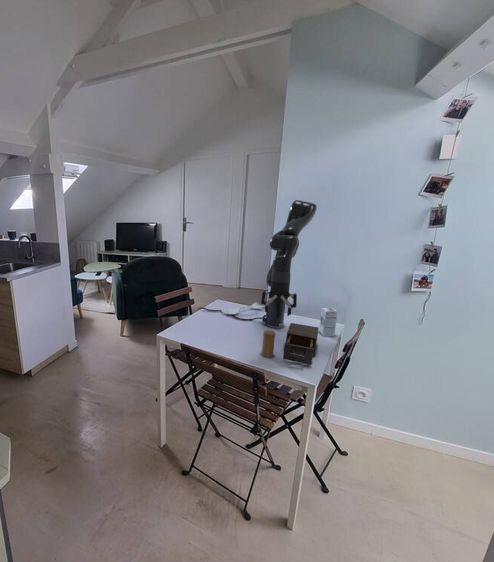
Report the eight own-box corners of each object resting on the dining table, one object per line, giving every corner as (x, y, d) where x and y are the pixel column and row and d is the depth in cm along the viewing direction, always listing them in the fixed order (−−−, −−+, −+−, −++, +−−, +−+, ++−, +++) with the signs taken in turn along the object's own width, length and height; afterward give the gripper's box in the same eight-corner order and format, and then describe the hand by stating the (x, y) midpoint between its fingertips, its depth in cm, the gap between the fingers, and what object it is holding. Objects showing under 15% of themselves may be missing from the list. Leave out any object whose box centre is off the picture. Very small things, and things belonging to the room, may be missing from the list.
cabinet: (314, 356, 149) (316, 338, 146) (284, 350, 156) (286, 332, 153) (316, 344, 160) (318, 327, 158) (288, 339, 167) (290, 322, 165)
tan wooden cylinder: (260, 355, 152) (262, 333, 149) (262, 351, 156) (264, 329, 153) (272, 358, 149) (274, 335, 146) (273, 353, 153) (276, 331, 150)
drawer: (310, 369, 137) (312, 353, 135) (281, 362, 143) (283, 347, 141) (313, 352, 151) (315, 337, 149) (287, 347, 157) (288, 333, 155)
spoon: (266, 309, 211) (266, 304, 210) (227, 317, 201) (227, 312, 200) (256, 305, 219) (256, 301, 218) (218, 313, 209) (218, 308, 208)
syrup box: (334, 336, 168) (338, 311, 165) (322, 336, 170) (326, 311, 166) (330, 332, 174) (333, 307, 170) (318, 331, 175) (321, 307, 171)
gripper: (299, 279, 138) (295, 313, 142) (263, 276, 145) (261, 309, 149) (298, 283, 132) (295, 319, 136) (262, 280, 139) (259, 314, 143)
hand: (277, 314), depth 143 cm, fingers open, 8 cm apart
